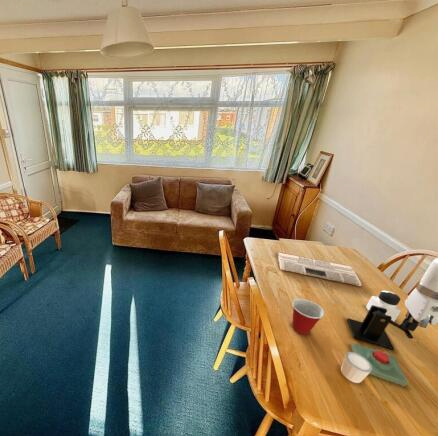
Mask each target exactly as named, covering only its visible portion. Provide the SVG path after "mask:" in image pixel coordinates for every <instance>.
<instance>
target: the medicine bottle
mask: <svg viewBox="0 0 438 436" xmlns="http://www.w3.org/2000/svg"><path fill="white" fill-rule="evenodd" d="M400 302H401V297H400V296H399V295H398V294H396V293H395V292H392V291H390V290H381V291H380V293H379V295H378V296H376V295H372V296H371V297H370V299H369V301H368V303H367V304H366V306H365V308H366V309H367V311H369V310H370V308H371V306H372V305H373V306H377V307H381V308H385V309H387V312H386V315H388V316H391V317H392V319H391V320H392V321H394V322H396V320H397V319H398V317H399V315H400V314H401V312H402V310H401V309H400V307H399V306H398V305H399V303H400Z"/></svg>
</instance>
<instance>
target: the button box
mask: <svg viewBox="0 0 438 436" xmlns="http://www.w3.org/2000/svg"><path fill="white" fill-rule="evenodd" d="M350 348H351V352H354V353H357V354H359V355H361V356H363V357H364V358H365V359H366V360H368V361H369V363H370V364H371V366H372V371H371V372H370V373H369V374H368V375H372V376H374V377H377V378H380V379H383V380H385V381H388V382H391V383H393V384H396V385H399V386H402V387H406V386H407V385H408V383H409V382H408V380H407V378H406V376H405V374H404V372H403V370H402V368H401V366H400V364H399V362H398V361H397V358H396V356H395V355H392V354H389V353H385V352H384V353H385V354H386V355H387V356H388V357H389V361H388V362H387V363H385V364H384V363H381V362H379V361H378V360H376V359H375V358H374V356H373V354H374V353H375V351H379V350H377V349H375V348H370V347H367V346H364V345H361V344H358V343H354V342H353V343H351V345H350Z"/></svg>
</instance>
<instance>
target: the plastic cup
mask: <svg viewBox="0 0 438 436" xmlns="http://www.w3.org/2000/svg"><path fill="white" fill-rule="evenodd" d="M291 305H292V310H293V311H292V312H293V313H292V323H291V324H292V325H291V326H292V328H293V330H294V331H295V332H296V333H298V334H301V335H308V334H309V333H310V331H311V330H313V328H314V327H315V326H316V324H317V323H318V322H319V321H320V320H321V319H322V318H324V316H325V310H324V309H323V308H322V307H321V306H320V305H319V304H317V303H315V301H311V300H309V299H304V298H296V299H293V300H292V302H291Z"/></svg>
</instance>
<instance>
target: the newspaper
mask: <svg viewBox="0 0 438 436" xmlns="http://www.w3.org/2000/svg"><path fill="white" fill-rule="evenodd" d="M277 259H278V265H279V268H280V270H282V271H285V272H291V273H296V274H301V275H306V276H310V277H315V278H319V279H324V280H327V281H328V280H330V281H333V282H339V283H343V284H348V285H353V286H357V287H362V281H361V279H360V278H359V277H358V275H357V273H356V271H355V270H354V269H353V268H352V266H349V265H345V264H341V263H340V264H339V263H335V262H328V261H325V260H324V261H323V260H319V259H313V258H308V257H303V256H298V255H292V254H288V253H281V252H277Z"/></svg>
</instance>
